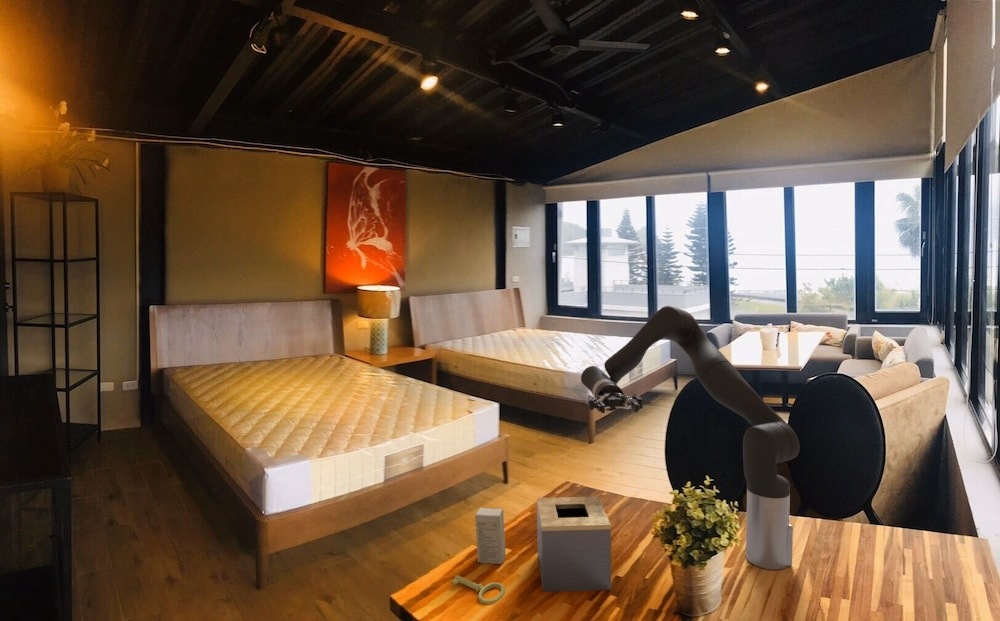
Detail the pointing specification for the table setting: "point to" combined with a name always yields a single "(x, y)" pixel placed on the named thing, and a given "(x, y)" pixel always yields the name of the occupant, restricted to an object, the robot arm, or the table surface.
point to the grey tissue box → (573, 544)
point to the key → (481, 588)
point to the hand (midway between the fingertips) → (620, 409)
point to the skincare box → (490, 535)
